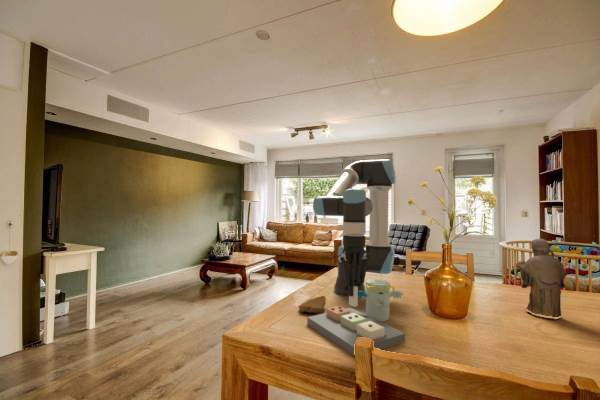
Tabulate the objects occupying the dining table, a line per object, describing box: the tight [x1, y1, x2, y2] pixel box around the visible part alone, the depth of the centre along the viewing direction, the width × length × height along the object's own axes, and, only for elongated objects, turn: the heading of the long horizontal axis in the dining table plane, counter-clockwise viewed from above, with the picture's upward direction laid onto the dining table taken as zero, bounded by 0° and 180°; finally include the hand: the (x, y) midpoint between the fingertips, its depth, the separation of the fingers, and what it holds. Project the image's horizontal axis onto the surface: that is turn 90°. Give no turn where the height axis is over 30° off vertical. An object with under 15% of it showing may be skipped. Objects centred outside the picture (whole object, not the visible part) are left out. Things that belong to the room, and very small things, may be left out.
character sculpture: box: [358, 278, 404, 322], centre depth 110 cm, size 20×12×13 cm, turn 92°
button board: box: [306, 307, 406, 357], centre depth 97 cm, size 20×26×2 cm
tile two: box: [341, 313, 366, 331], centre depth 97 cm, size 6×6×3 cm
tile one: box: [357, 321, 385, 340], centre depth 90 cm, size 6×6×3 cm
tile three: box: [326, 305, 350, 322], centre depth 104 cm, size 6×6×3 cm
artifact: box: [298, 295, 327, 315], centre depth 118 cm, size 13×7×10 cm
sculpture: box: [517, 238, 568, 317], centre depth 116 cm, size 16×11×30 cm
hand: (353, 305), depth 97 cm, fingers closed
